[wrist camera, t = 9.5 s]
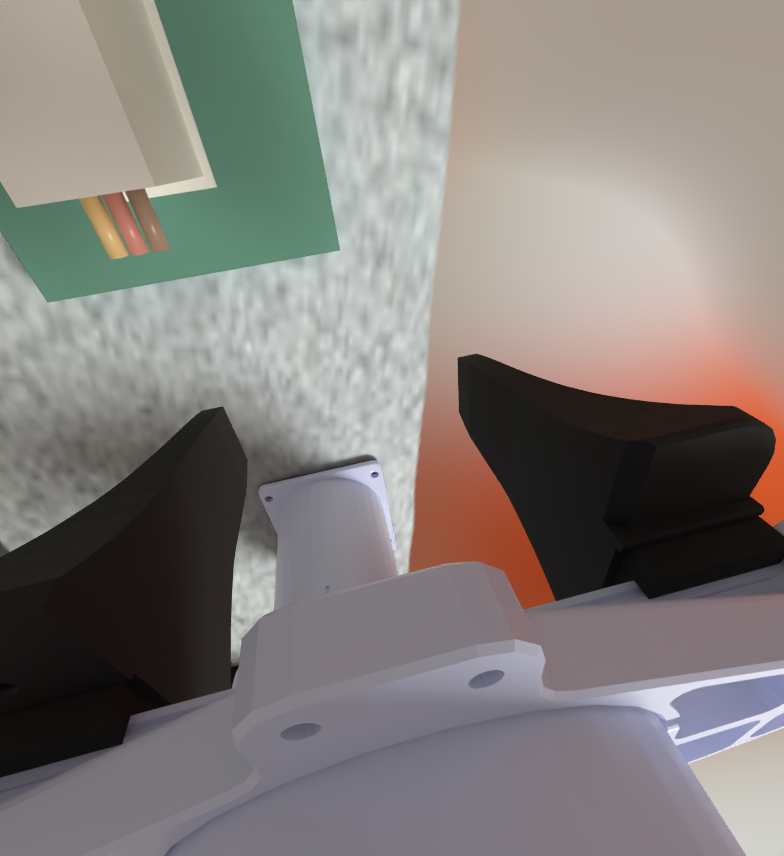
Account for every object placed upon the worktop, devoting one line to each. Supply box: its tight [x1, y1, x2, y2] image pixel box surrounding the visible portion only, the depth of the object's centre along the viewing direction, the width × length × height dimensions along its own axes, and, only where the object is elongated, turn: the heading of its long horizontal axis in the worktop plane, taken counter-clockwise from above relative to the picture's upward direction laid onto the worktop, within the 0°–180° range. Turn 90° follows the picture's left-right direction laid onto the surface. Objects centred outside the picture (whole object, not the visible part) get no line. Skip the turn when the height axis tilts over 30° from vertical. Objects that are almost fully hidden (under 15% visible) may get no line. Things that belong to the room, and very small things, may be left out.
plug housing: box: [0, 0, 204, 259], centre depth 10 cm, size 7×3×6 cm, turn 7°
